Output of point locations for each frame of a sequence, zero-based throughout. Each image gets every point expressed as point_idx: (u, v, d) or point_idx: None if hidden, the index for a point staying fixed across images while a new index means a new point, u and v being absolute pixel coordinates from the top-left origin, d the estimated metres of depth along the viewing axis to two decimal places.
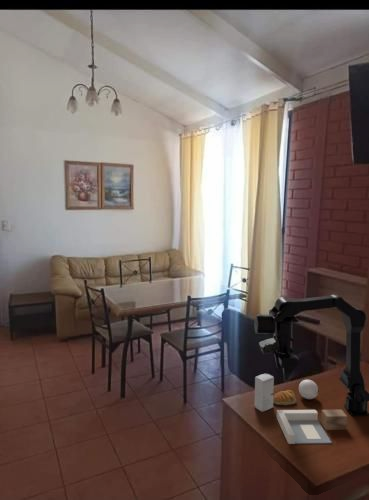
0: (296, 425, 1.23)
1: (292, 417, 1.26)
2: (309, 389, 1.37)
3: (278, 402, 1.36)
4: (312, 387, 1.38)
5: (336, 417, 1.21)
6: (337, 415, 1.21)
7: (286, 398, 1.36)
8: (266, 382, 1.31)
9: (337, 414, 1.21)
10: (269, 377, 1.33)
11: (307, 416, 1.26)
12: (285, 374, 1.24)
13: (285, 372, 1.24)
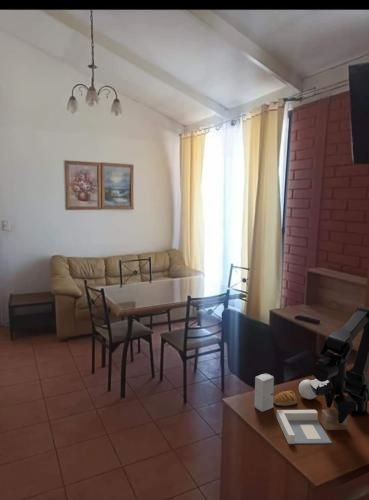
0: (296, 425, 1.23)
1: (292, 417, 1.26)
2: (309, 389, 1.37)
3: (279, 403, 1.35)
4: None
5: (336, 417, 1.21)
6: (337, 415, 1.21)
7: (287, 399, 1.36)
8: (266, 382, 1.31)
9: (337, 414, 1.21)
10: (269, 377, 1.33)
11: (307, 416, 1.26)
12: (340, 417, 1.17)
13: (341, 415, 1.17)
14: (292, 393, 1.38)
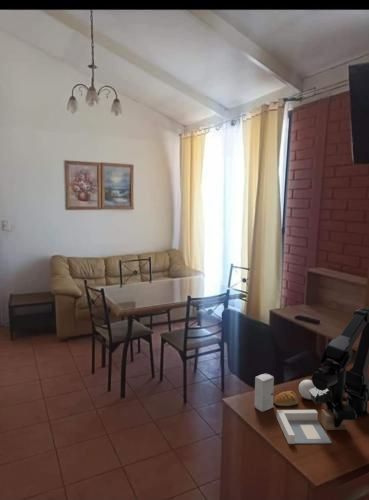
0: (296, 425, 1.23)
1: (292, 417, 1.26)
2: (309, 389, 1.37)
3: (280, 403, 1.35)
4: (312, 387, 1.38)
5: None
6: None
7: (288, 399, 1.35)
8: (266, 382, 1.31)
9: None
10: (269, 377, 1.33)
11: (307, 416, 1.26)
12: (336, 421, 1.20)
13: (337, 420, 1.19)
14: (293, 393, 1.38)
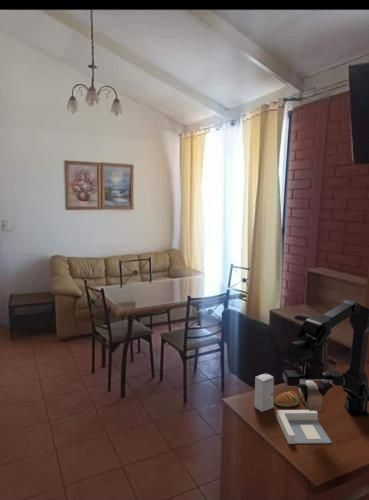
0: (296, 425, 1.23)
1: (292, 417, 1.26)
2: None
3: (281, 404, 1.34)
4: None
5: None
6: None
7: (289, 399, 1.35)
8: (266, 382, 1.31)
9: (309, 391, 1.17)
10: (269, 377, 1.33)
11: (307, 416, 1.26)
12: (302, 393, 1.18)
13: None
14: (294, 394, 1.38)
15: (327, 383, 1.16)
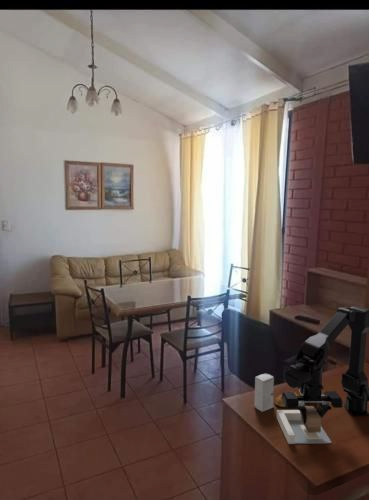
0: (296, 425, 1.23)
1: (292, 417, 1.26)
2: None
3: (282, 404, 1.34)
4: None
5: None
6: (306, 412, 1.18)
7: None
8: (266, 382, 1.31)
9: (308, 412, 1.18)
10: (269, 377, 1.33)
11: None
12: (301, 415, 1.19)
13: (300, 413, 1.19)
14: None
15: (326, 405, 1.17)
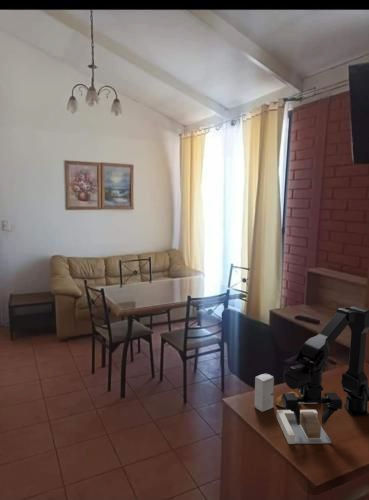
0: (296, 425, 1.23)
1: (292, 417, 1.26)
2: None
3: (283, 405, 1.34)
4: None
5: (304, 418, 1.19)
6: (306, 418, 1.19)
7: None
8: (266, 382, 1.31)
9: (308, 418, 1.18)
10: (269, 377, 1.33)
11: None
12: None
13: (294, 414, 1.19)
14: (295, 394, 1.37)
15: None
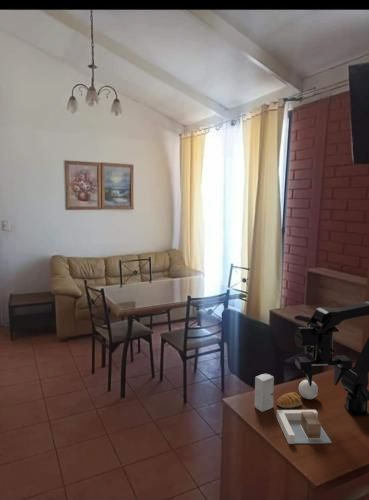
0: (296, 425, 1.23)
1: (292, 417, 1.26)
2: (309, 389, 1.37)
3: (284, 405, 1.34)
4: (312, 387, 1.38)
5: (304, 418, 1.19)
6: (306, 418, 1.19)
7: (292, 401, 1.34)
8: (266, 382, 1.31)
9: (308, 418, 1.18)
10: (269, 377, 1.33)
11: None
12: (307, 378, 1.28)
13: (306, 376, 1.27)
14: (296, 395, 1.37)
15: None
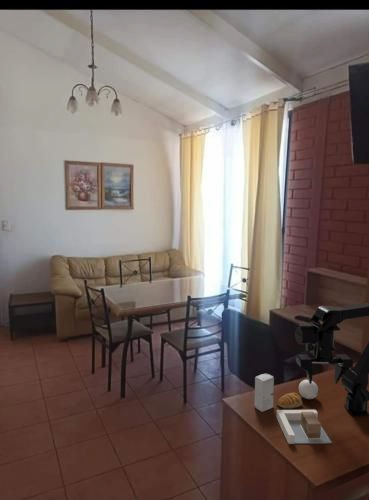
0: (296, 425, 1.23)
1: (292, 417, 1.26)
2: (309, 389, 1.37)
3: (285, 406, 1.33)
4: (312, 387, 1.38)
5: (304, 418, 1.19)
6: (306, 418, 1.19)
7: (293, 401, 1.34)
8: (266, 382, 1.31)
9: (308, 418, 1.18)
10: (269, 377, 1.33)
11: None
12: (307, 375, 1.29)
13: (307, 374, 1.28)
14: (297, 395, 1.37)
15: None
